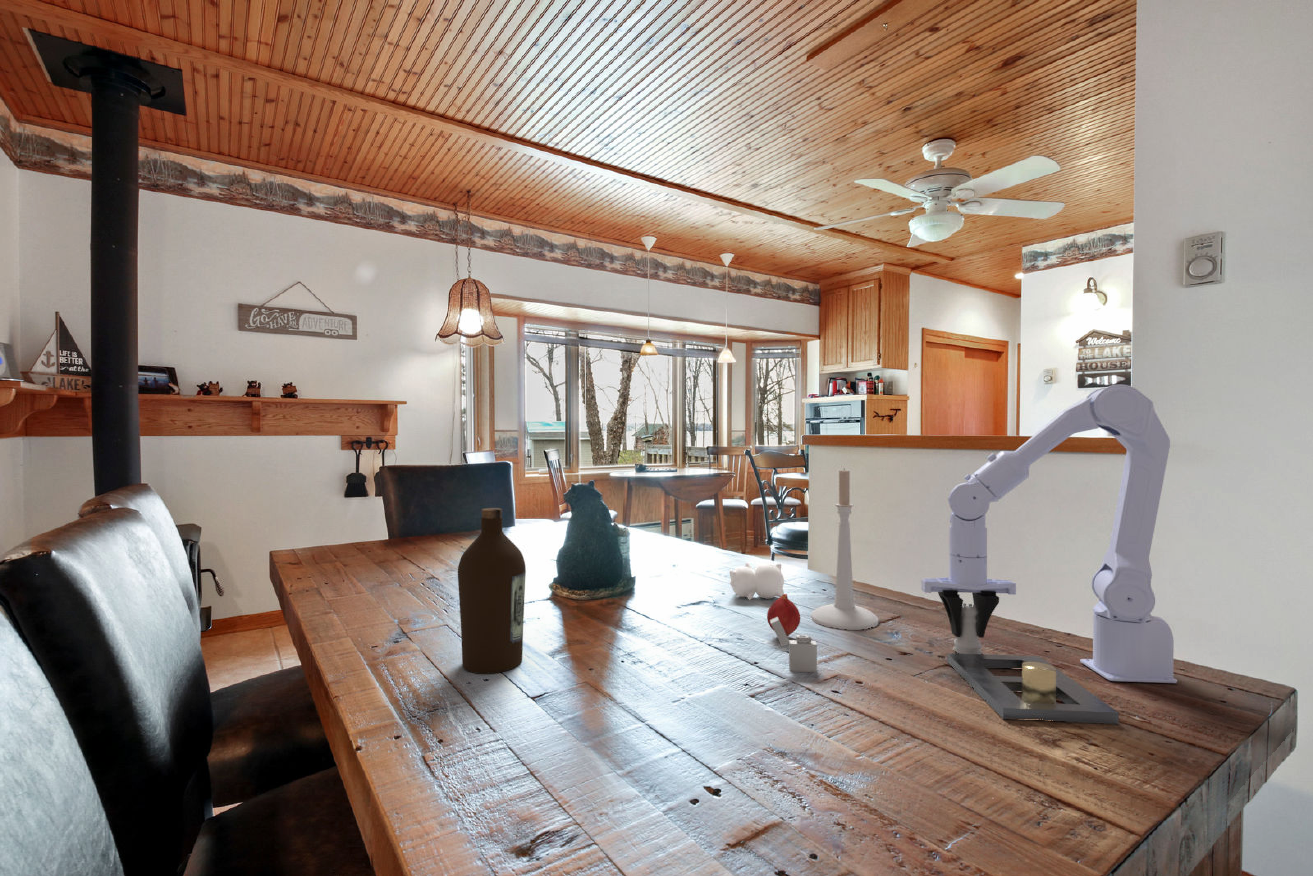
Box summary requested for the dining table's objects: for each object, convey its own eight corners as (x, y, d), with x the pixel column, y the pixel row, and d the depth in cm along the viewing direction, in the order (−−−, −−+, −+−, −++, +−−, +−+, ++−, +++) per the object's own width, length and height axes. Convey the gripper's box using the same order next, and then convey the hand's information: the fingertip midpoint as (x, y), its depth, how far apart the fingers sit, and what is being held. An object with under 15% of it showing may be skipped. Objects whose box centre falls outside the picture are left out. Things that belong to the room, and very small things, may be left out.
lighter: (815, 667, 99) (815, 617, 99) (817, 672, 97) (817, 620, 97) (769, 666, 100) (769, 616, 100) (770, 670, 98) (770, 619, 98)
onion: (764, 640, 112) (764, 596, 112) (770, 631, 117) (770, 588, 117) (797, 644, 110) (797, 599, 110) (802, 634, 115) (802, 591, 115)
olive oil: (450, 676, 96) (448, 513, 96) (468, 652, 107) (467, 505, 106) (519, 675, 96) (518, 513, 96) (531, 651, 107) (530, 504, 107)
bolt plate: (1039, 665, 100) (1039, 634, 100) (1118, 724, 80) (1118, 685, 80) (947, 662, 101) (947, 631, 101) (1003, 719, 81) (1003, 681, 81)
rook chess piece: (986, 658, 103) (986, 609, 103) (956, 656, 104) (957, 608, 104) (978, 649, 107) (978, 602, 107) (950, 647, 108) (950, 601, 108)
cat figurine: (729, 556, 140) (783, 555, 139) (728, 573, 149) (779, 571, 148) (731, 595, 135) (787, 594, 134) (730, 609, 144) (783, 608, 143)
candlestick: (885, 616, 126) (885, 467, 126) (869, 634, 115) (869, 471, 115) (822, 607, 133) (822, 465, 133) (801, 623, 122) (801, 469, 122)
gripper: (1002, 550, 109) (1002, 629, 109) (915, 549, 110) (915, 626, 110) (1022, 559, 102) (1021, 642, 102) (929, 557, 103) (928, 640, 103)
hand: (967, 635), depth 105 cm, fingers closed on rook chess piece, 3 cm apart
